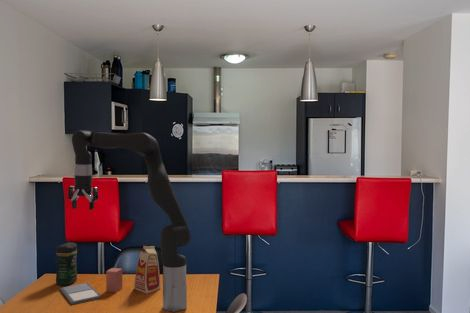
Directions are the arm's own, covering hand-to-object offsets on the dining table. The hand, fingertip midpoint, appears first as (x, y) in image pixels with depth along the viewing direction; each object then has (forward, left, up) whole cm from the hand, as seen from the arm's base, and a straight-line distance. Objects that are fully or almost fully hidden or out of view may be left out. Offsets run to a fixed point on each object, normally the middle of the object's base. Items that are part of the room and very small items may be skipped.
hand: (82, 209), depth 185 cm
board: (-10, +4, -35) cm, 37 cm away
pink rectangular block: (-13, -10, -35) cm, 39 cm away
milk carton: (-20, -23, -36) cm, 47 cm away
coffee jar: (+9, +5, -36) cm, 37 cm away
